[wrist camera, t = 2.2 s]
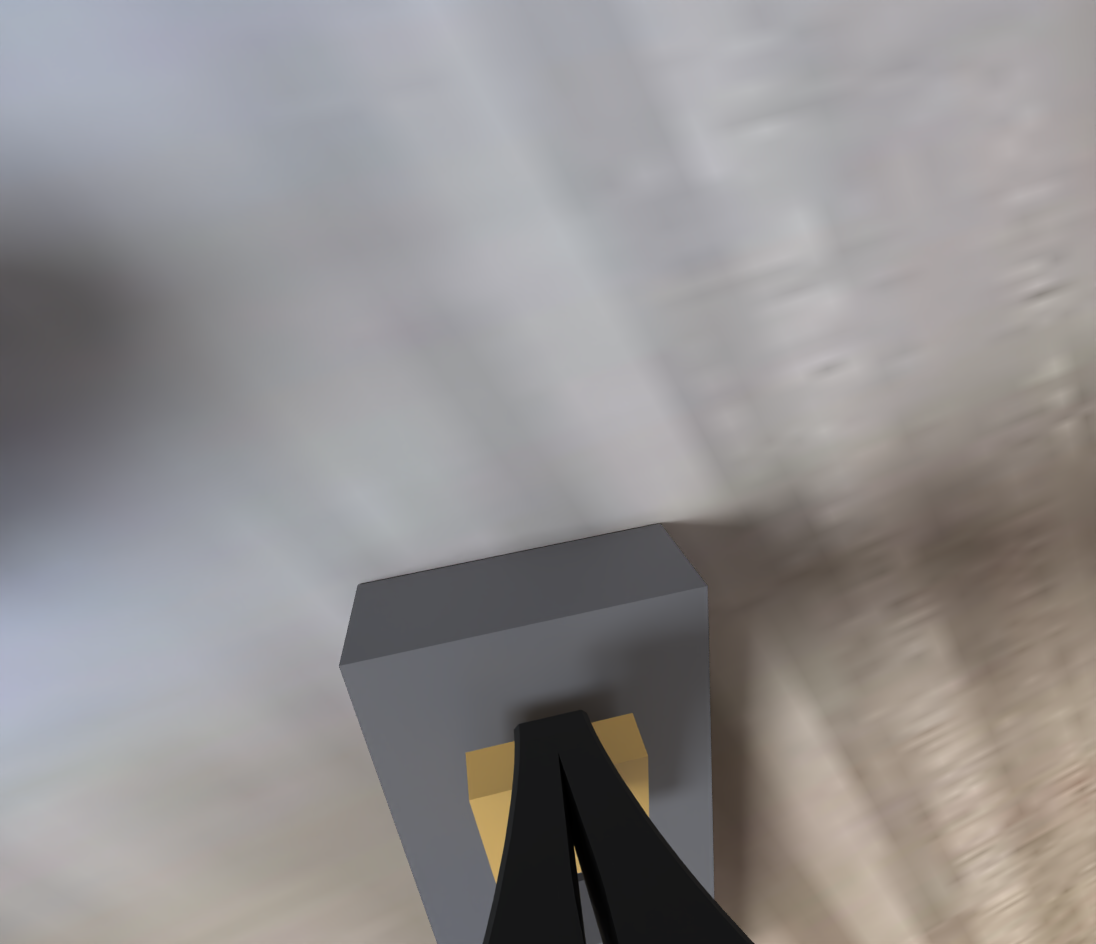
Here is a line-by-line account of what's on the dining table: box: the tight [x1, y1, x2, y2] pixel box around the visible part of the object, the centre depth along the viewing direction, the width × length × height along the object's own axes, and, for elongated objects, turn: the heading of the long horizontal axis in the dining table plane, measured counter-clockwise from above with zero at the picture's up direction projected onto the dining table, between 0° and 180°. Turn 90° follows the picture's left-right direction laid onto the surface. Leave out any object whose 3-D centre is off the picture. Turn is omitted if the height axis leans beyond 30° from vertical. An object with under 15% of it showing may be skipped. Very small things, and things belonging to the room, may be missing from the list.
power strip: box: [339, 524, 714, 944], centre depth 18 cm, size 23×8×3 cm, turn 8°
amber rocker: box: [466, 713, 649, 883], centre depth 13 cm, size 4×4×1 cm
